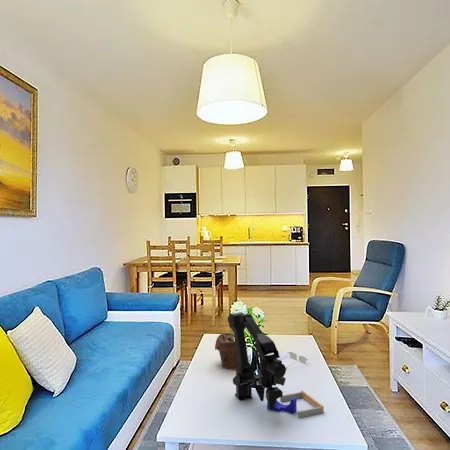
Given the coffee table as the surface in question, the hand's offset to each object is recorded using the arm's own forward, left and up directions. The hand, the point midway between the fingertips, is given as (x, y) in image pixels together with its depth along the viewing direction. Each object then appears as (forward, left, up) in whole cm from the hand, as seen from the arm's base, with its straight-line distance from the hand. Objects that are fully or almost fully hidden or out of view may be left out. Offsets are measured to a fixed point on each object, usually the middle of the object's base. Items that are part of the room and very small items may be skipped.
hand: (266, 405), depth 174 cm
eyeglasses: (+37, +49, -4) cm, 62 cm away
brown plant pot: (+7, +59, -4) cm, 59 cm away
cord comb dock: (+17, 0, -3) cm, 17 cm away
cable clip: (+8, +1, -4) cm, 9 cm away
